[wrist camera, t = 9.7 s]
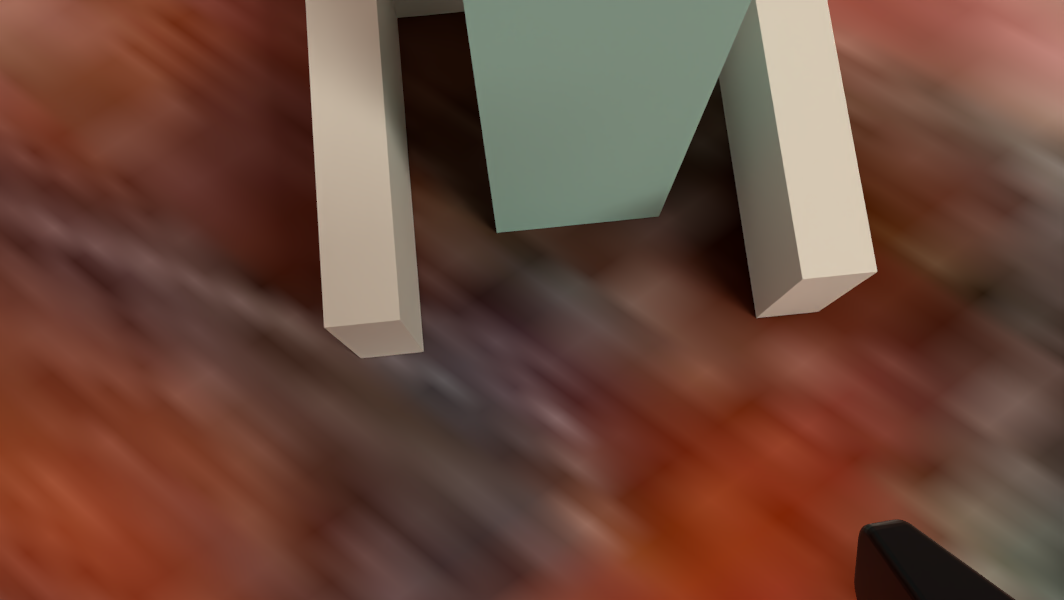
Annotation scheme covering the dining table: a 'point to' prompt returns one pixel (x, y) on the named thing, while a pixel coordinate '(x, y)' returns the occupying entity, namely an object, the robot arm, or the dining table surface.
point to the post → (592, 101)
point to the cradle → (754, 138)
